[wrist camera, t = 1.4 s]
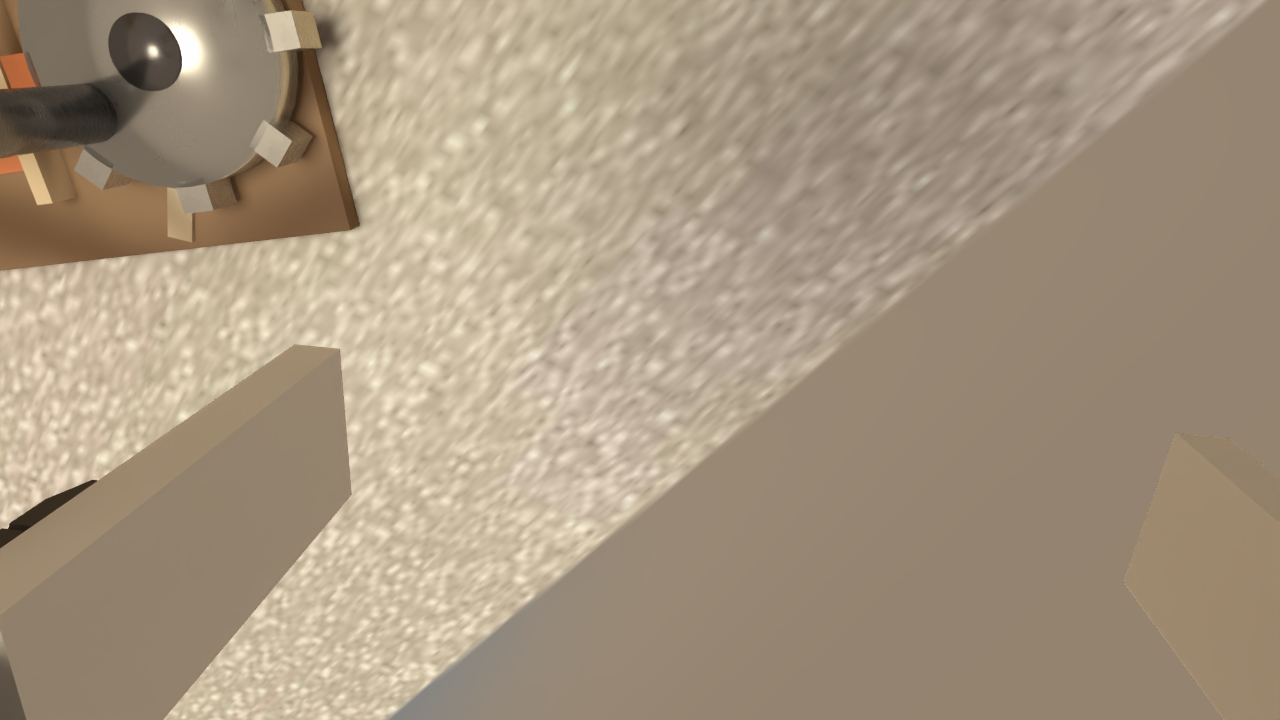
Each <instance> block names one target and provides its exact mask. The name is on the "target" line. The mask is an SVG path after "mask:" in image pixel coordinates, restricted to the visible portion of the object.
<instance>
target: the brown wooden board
mask: <svg viewBox="0 0 1280 720" xmlns="http://www.w3.org/2000/svg"><path fill="white" fill-rule="evenodd" d="M281 3H282V5H283V7H284V9H285V11H289V10H294V11H304V7H303V4H302V0H281ZM19 53H23V49H22V44H21V39H20V34H19V24H18V0H0V56H7V55H13V54H19ZM297 59H298V90H297V96H296V103H295V107H294V110H293V113H292V117H291V120H292V121H293V122H294V123H296V124H297V125H298V126H300V127H301V128H302V129H304V130H305V131H306V132H308V133H309V134H310V135H312V136H313V137H312V139H311V140H310V142H309V144H308V146H307V147H306V149H305V151H304V153H303V154H302V156H301V158H300V160H299V161H298V162H296V163H292V164H289V165H285V166H282V167H278V168H277V167H275V166H274V165H273V164H271V163H270V162H269V161H267V160H266V159H265V158H264V159H263V160H262V161H260V162H259V163H258V164H257V165H255V166H254V167H252V168H250V169H248V170H247V171H245V172H243V173H241V174H238V175H235V176H233V177H230V178H229V179H230V182H231V185H232V189H233V192H234V195H235V198H236V202H237V203H235V204H232V205H229V206H226V207H223V208H220V209H216V210H213V211H205V212H197V213H189V214H184V211H183V208H182V205H181V202H180V199H179V196H178V193H177V190H176V188H171V187H160V186H155V185H151V184H146V183H142V182H140V181H137V180H134V179H133V180H132V182H131V184H127V185H123V186H118V187H114V188H110V189H106V190H101V189H100V188H98V187H97V186H96V185H94V184H93V183H91V182H90V181H88V180H87V179H86V178H84V177H83V176H81V175H80V174H79V173H77V172H76V171H74V169H75V167H76V164H77V162H78V160H79V158H80V155H81V153H82V151H83V148H82V147H81V146H76V147H70V148H64V149H57V150H51V151H44V152H38V153H32V154H25V155H19V156H13V157H6V158H0V270H9V269H17V268H26V267H35V266H43V265H52V264H61V263H69V262H78V261H87V260H95V259H104V258H113V257H121V256H130V255H139V254H147V253H156V252H165V251H173V250H182V249H191V248H199V247H208V246H217V245H225V244H234V243H243V242H251V241H260V240H269V239H277V238H286V237H295V236H303V235H312V234H321V233H329V232H338V231H347V230H351V229H354V228H356V227H358V226H359V222H358V218H357V214H356V210H355V206H354V202H353V198H352V194H351V191H350V187H349V183H348V179H347V175H346V171H345V167H344V163H343V159H342V156H341V152H340V148H339V144H338V140H337V136H336V132H335V128H334V124H333V120H332V117H331V113H330V109H329V105H328V101H327V97H326V93H325V89H324V85H323V82H322V78H321V74H320V70H319V66H318V62H317V58H316V54H315V50H314V49H311V50H304V51H297ZM9 88H11V85H10V83H9V80H8V78H7V75H6V72H5V70H4V67H3V65H2V62H1V59H0V89H9Z"/></svg>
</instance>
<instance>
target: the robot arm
mask: <svg viewBox="0 0 1280 720" xmlns="http://www.w3.org/2000/svg"><path fill="white" fill-rule="evenodd" d="M351 495H352V493H351V481H350V469H349V456H348V444H347V432H346V419H345V407H344V395H343V382H342V370H341V358H340V349H335V348H325V347H315V346H305V345H293V346H292V347H290V348H289V349H288V350H286V351H285V352H283V353H282V354H280V355H279V356H277V357H276V358H275V359H273V360H272V361H270V362H269V363H267V364H266V365H264V366H263V367H262V368H260V369H259V370H257V371H256V372H254V373H253V374H251V375H250V376H249V377H247V378H246V379H244V380H243V381H241V382H240V383H238V384H237V385H236V386H234V387H233V388H231V389H230V390H228V391H227V392H225V393H224V394H223V395H221V396H220V397H218V398H217V399H215V400H214V401H212V402H211V403H210V404H208V405H207V406H205V407H204V408H202V409H201V410H199V411H198V412H197V413H195V414H194V415H192V416H191V417H189V418H188V419H186V420H185V421H184V422H182V423H181V424H179V425H178V426H176V427H175V428H173V429H172V430H171V431H169V432H168V433H166V434H165V435H163V436H162V437H160V438H159V439H158V440H156V441H155V442H153V443H152V444H150V445H149V446H147V447H146V448H145V449H143V450H142V451H140V452H139V453H137V454H136V455H134V456H133V457H132V458H130V459H129V460H127V461H126V462H124V463H123V464H121V465H120V466H119V467H117V468H116V469H114V470H113V471H111V472H110V473H108V474H107V475H106V476H104V477H103V478H101V479H100V480H98V481H97V480H91V481H89V482H86V483H84V484H81V485H79V486H76V487H74V488H72V489H69V490H67V491H64V492H62V493H60V494H57V495H55V496H52V497H50V498H47V499H45V500H44V501H42V502H41V503H39V504H38V505H36V506H35V507H33V508H32V509H30V510H29V511H27V512H26V513H24V514H23V515H21V516H20V517H18V518H17V519H15V520H14V521H12V522H11V523H9V528H8V529H0V720H163V719H164V718H165V717H166V716H167V714H168V713H169V712H170V711H171V710H172V708H173V707H174V706H175V705H176V704H177V702H178V701H179V700H180V699H181V698H182V696H183V695H184V694H185V693H186V692H187V691H188V689H189V688H190V687H191V686H192V685H193V683H194V682H195V681H196V680H197V679H198V677H199V676H200V675H201V674H202V673H203V671H204V670H205V669H206V668H207V667H208V665H209V664H210V663H211V662H212V661H213V659H214V658H215V657H216V656H217V655H218V654H219V652H220V651H221V650H222V649H223V648H224V646H225V645H226V644H227V643H228V642H229V640H230V639H231V638H232V637H233V636H234V634H235V633H236V632H237V631H238V630H239V628H240V627H241V626H242V625H243V624H244V622H245V621H246V620H247V619H248V618H249V616H250V615H251V614H252V613H253V612H254V611H255V609H256V608H257V607H258V606H259V605H260V603H261V602H262V601H263V600H264V599H265V597H266V596H267V595H268V594H269V593H270V591H271V590H272V589H273V588H274V587H275V585H276V584H277V583H278V582H279V581H280V579H281V578H282V577H283V576H284V575H285V574H286V572H287V571H288V570H289V569H290V568H291V566H292V565H293V564H294V563H295V562H296V560H297V559H298V558H299V557H300V556H301V554H302V553H303V552H304V551H305V550H306V548H307V547H308V546H309V545H310V544H311V542H312V541H313V540H314V539H315V538H316V537H317V535H318V534H319V533H320V532H321V531H322V529H323V528H324V527H325V526H326V525H327V523H328V522H329V521H330V520H331V519H332V517H333V516H334V515H335V514H336V513H337V511H338V510H339V509H340V508H341V507H342V505H343V504H344V503H345V502H346V501H347V500H348V498H349V497H350V496H351ZM1123 583H1124V584H1125V585H1126V587H1127V588H1128V589H1129V591H1130V592H1131V593H1132V595H1133V596H1134V598H1135V599H1136V600H1137V602H1138V603H1139V604H1140V606H1141V607H1142V609H1143V610H1144V611H1145V613H1146V614H1147V615H1148V617H1149V618H1150V620H1151V621H1152V622H1153V624H1154V625H1155V626H1156V628H1157V629H1158V631H1159V632H1160V633H1161V635H1162V636H1163V637H1164V639H1165V640H1166V641H1167V643H1168V644H1169V646H1170V647H1171V648H1172V650H1173V651H1174V652H1175V654H1176V655H1177V657H1178V658H1179V659H1180V661H1181V662H1182V663H1183V665H1184V666H1185V667H1186V669H1187V670H1188V672H1189V673H1190V674H1191V676H1192V677H1193V678H1194V680H1195V681H1196V683H1197V684H1198V685H1199V687H1200V688H1201V689H1202V691H1203V692H1204V694H1205V695H1206V696H1207V698H1208V699H1209V700H1210V702H1211V703H1212V705H1213V706H1214V707H1215V709H1216V710H1217V711H1218V713H1219V714H1220V715H1221V717H1222V718H1223V720H1280V478H1278V477H1277V476H1276V475H1275V474H1273V473H1272V472H1271V471H1269V470H1268V469H1267V468H1266V467H1264V466H1263V465H1262V464H1261V463H1259V462H1258V461H1257V460H1256V459H1254V458H1253V457H1252V456H1251V455H1249V454H1248V453H1247V452H1245V451H1244V450H1243V449H1242V448H1240V447H1239V446H1238V445H1237V444H1235V443H1234V442H1233V441H1232V440H1230V439H1229V438H1224V437H1214V436H1204V435H1194V434H1184V433H1175V436H1174V439H1173V441H1172V444H1171V447H1170V450H1169V453H1168V456H1167V459H1166V461H1165V464H1164V467H1163V470H1162V473H1161V476H1160V479H1159V481H1158V484H1157V487H1156V490H1155V493H1154V496H1153V499H1152V502H1151V504H1150V507H1149V510H1148V513H1147V516H1146V519H1145V522H1144V524H1143V527H1142V530H1141V533H1140V536H1139V539H1138V542H1137V545H1136V547H1135V550H1134V553H1133V556H1132V559H1131V561H1130V564H1129V567H1128V570H1127V573H1126V576H1125V579H1124V581H1123Z"/></svg>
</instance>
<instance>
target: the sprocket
mask: <svg viewBox="0 0 1280 720" xmlns="http://www.w3.org/2000/svg"><path fill="white" fill-rule="evenodd" d="M18 24H19V34H20V39H21V44H22V49H23V53H19V54H13V55H7V56H0V59H1V62H2V65H3V67H4V70H5V72H6V75H7V78H8V80H9V83H10V85H11V88H9V89H0V158H6V157H13V156H19V155H25V154H32V153H38V152H44V151H51V150H57V149H64V148H70V147H76V146H81V147H82V148H83V151H82V153H81V155H80V158H79V160H78V162H77V164H76V167H75V169H74V171H76V172H77V173H79V174H80V175H81V176H83V177H84V178H86V179H87V180H88V181H90V182H91V183H93V184H94V185H96V186H97V187H98V188H100V189H101V190H106V189H110V188H114V187H118V186H123V185H127V184H131V182H132V180H133V179H134V180H137V181H140V182H142V183H146V184H151V185H155V186H160V187H171V188H176V190H177V193H178V196H179V199H180V202H181V205H182V208H183V211H184V214H189V213H197V212H205V211H213V210H216V209H220V208H223V207H226V206H229V205H232V204H235V203H237V202H236V198H235V195H234V192H233V189H232V185H231V182H230V179H229V178H230V177H233V176H235V175H238V174H241V173H243V172H245V171H247V170H248V169H250V168H252V167H254V166H255V165H257V164H258V163H259V162H260V161H262V160H263V159H264V158H265V159H266V160H267V161H269V162H270V163H271V164H273V165H274V166H275V167H277V168H278V167H282V166H285V165H289V164H292V163H296V162H298V161H299V160H300V158H301V156H302V154H303V153H304V151H305V149H306V147H307V146H308V144H309V142H310V140H311V139H312V137H313V136H312V135H310V134H309V133H308V132H306V131H305V130H304V129H302V128H301V127H300V126H298V125H297V124H296V123H294V122H293V121H292V120H291V117H292V113H293V110H294V107H295V103H296V96H297V90H298V59H297V51H304V50H311V49H317V48H322V46H321V42H320V38H319V34H318V30H317V26H316V23H315V19H314V15H313V12H307V11H294V10H289V11H285V9H284V7H283V5H282V3H281V0H18Z"/></svg>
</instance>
